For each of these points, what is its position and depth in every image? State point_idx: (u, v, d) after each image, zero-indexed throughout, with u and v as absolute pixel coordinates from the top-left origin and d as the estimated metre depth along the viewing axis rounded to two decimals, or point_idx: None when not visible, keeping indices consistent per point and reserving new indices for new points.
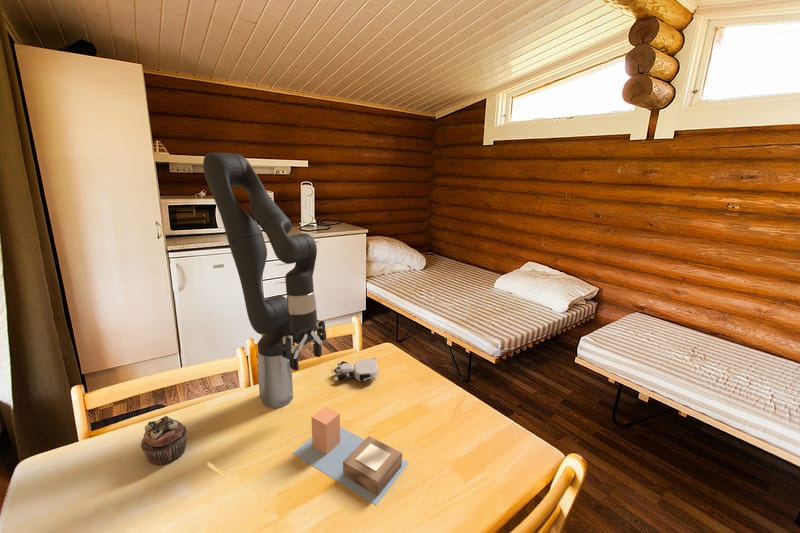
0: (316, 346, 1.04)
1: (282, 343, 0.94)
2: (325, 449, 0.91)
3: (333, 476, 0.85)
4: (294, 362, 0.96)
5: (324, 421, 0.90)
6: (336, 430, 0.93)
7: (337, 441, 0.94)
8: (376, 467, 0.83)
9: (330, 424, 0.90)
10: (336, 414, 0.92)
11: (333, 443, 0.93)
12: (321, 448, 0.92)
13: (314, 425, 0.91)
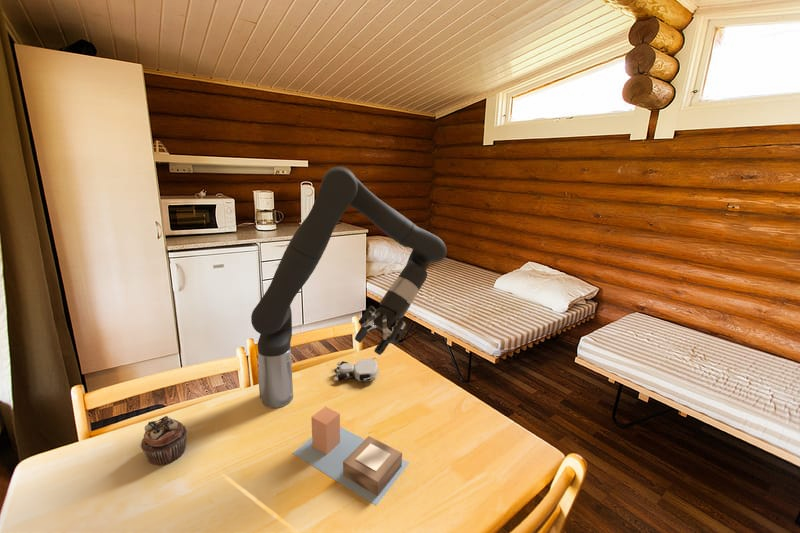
0: (365, 331, 1.00)
1: (400, 327, 0.93)
2: (325, 449, 0.91)
3: (333, 476, 0.85)
4: None
5: (324, 421, 0.90)
6: (336, 430, 0.93)
7: (337, 441, 0.94)
8: (376, 467, 0.83)
9: (330, 424, 0.90)
10: (336, 414, 0.92)
11: (333, 443, 0.93)
12: (321, 448, 0.92)
13: (314, 425, 0.91)
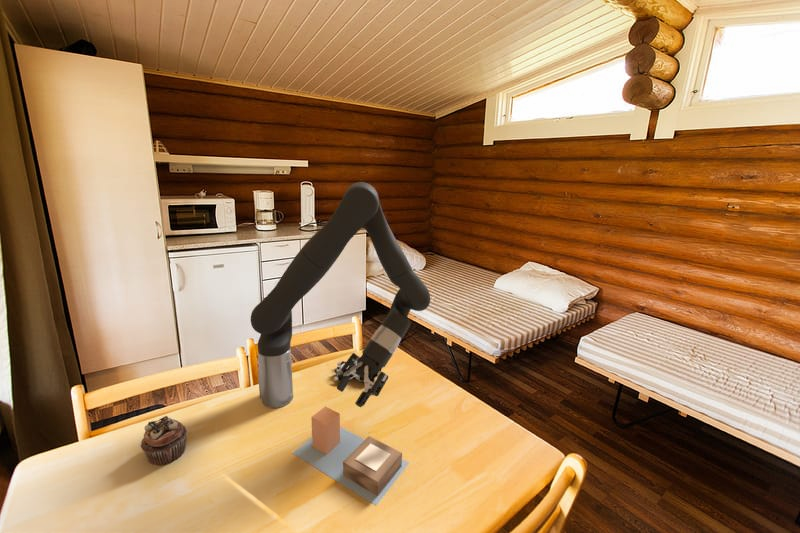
0: (347, 380, 1.00)
1: (381, 379, 0.93)
2: (325, 449, 0.91)
3: (333, 476, 0.85)
4: None
5: (324, 421, 0.90)
6: (336, 430, 0.93)
7: (337, 441, 0.94)
8: (376, 467, 0.83)
9: (330, 424, 0.90)
10: (336, 414, 0.92)
11: (333, 443, 0.93)
12: (321, 448, 0.92)
13: (314, 425, 0.91)
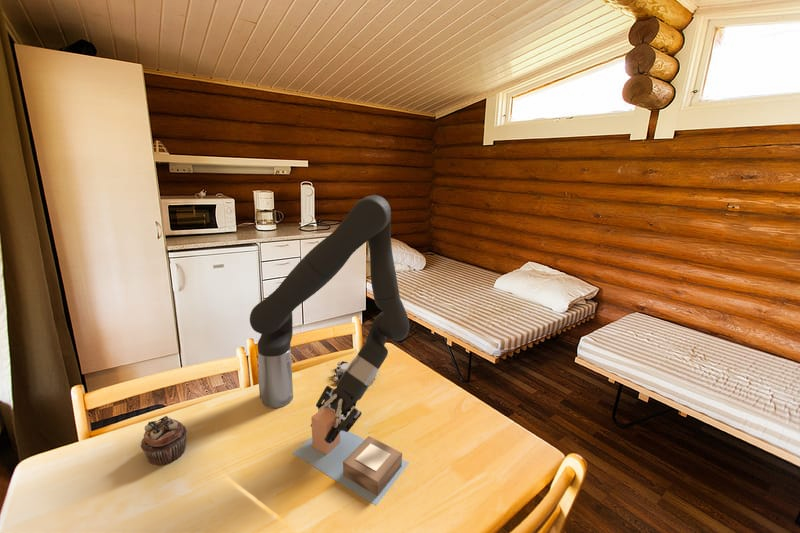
0: None
1: (353, 416, 0.89)
2: (325, 449, 0.91)
3: (333, 476, 0.85)
4: None
5: (324, 421, 0.90)
6: None
7: (337, 441, 0.94)
8: (376, 467, 0.83)
9: (330, 424, 0.90)
10: None
11: (333, 443, 0.93)
12: (321, 448, 0.92)
13: (314, 425, 0.91)
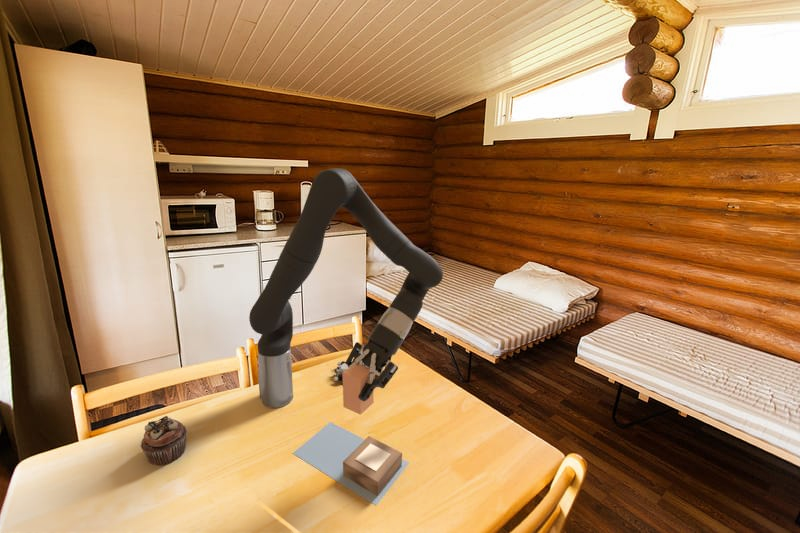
0: None
1: (389, 370, 0.80)
2: (359, 408, 0.82)
3: (333, 476, 0.85)
4: None
5: (357, 377, 0.80)
6: None
7: (370, 401, 0.85)
8: (376, 467, 0.83)
9: (363, 380, 0.81)
10: None
11: (367, 402, 0.84)
12: (354, 407, 0.82)
13: (346, 382, 0.82)
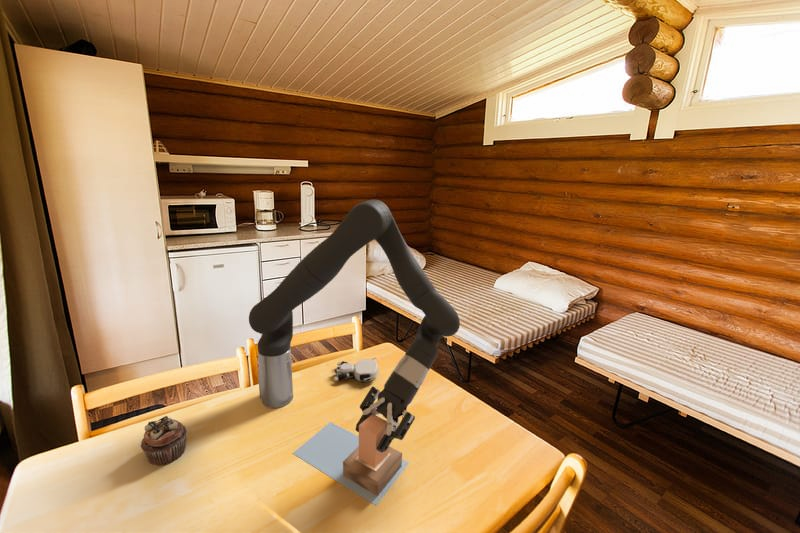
0: None
1: (407, 421, 0.80)
2: (374, 461, 0.82)
3: (333, 476, 0.85)
4: None
5: (373, 431, 0.81)
6: None
7: (385, 453, 0.85)
8: (376, 467, 0.83)
9: (379, 434, 0.81)
10: (386, 423, 0.84)
11: (382, 455, 0.84)
12: (369, 460, 0.83)
13: (362, 434, 0.83)
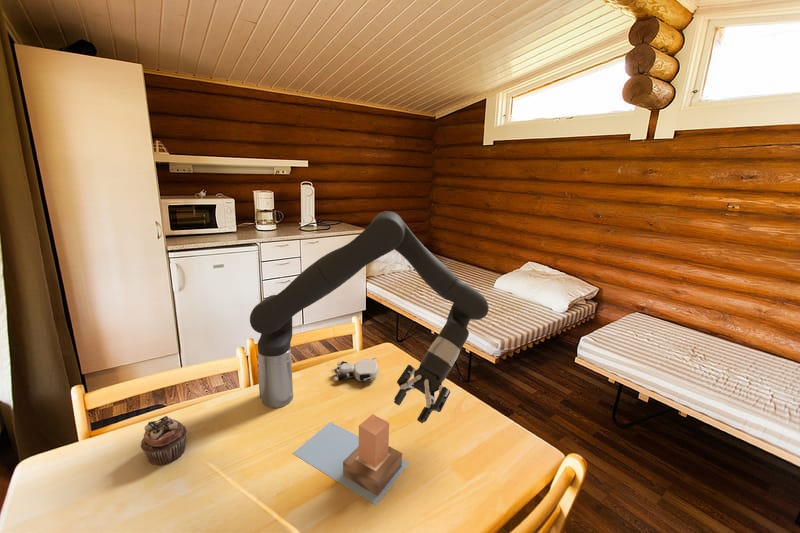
0: (404, 393, 0.96)
1: (444, 395, 0.89)
2: (374, 461, 0.82)
3: (333, 476, 0.85)
4: None
5: (373, 431, 0.81)
6: (384, 441, 0.84)
7: (385, 453, 0.85)
8: (376, 467, 0.83)
9: (379, 435, 0.81)
10: (385, 423, 0.84)
11: (382, 455, 0.84)
12: (369, 460, 0.83)
13: (361, 435, 0.83)
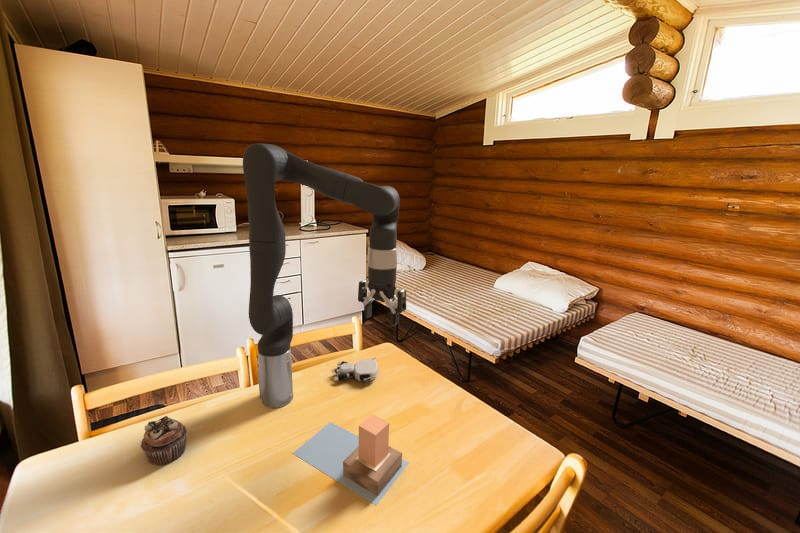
0: (369, 306, 1.00)
1: (402, 297, 0.93)
2: (374, 461, 0.82)
3: (333, 476, 0.85)
4: None
5: (373, 431, 0.81)
6: (384, 441, 0.84)
7: (385, 453, 0.85)
8: (376, 467, 0.83)
9: (379, 435, 0.81)
10: (385, 423, 0.84)
11: (382, 455, 0.84)
12: (369, 460, 0.83)
13: (361, 435, 0.83)
